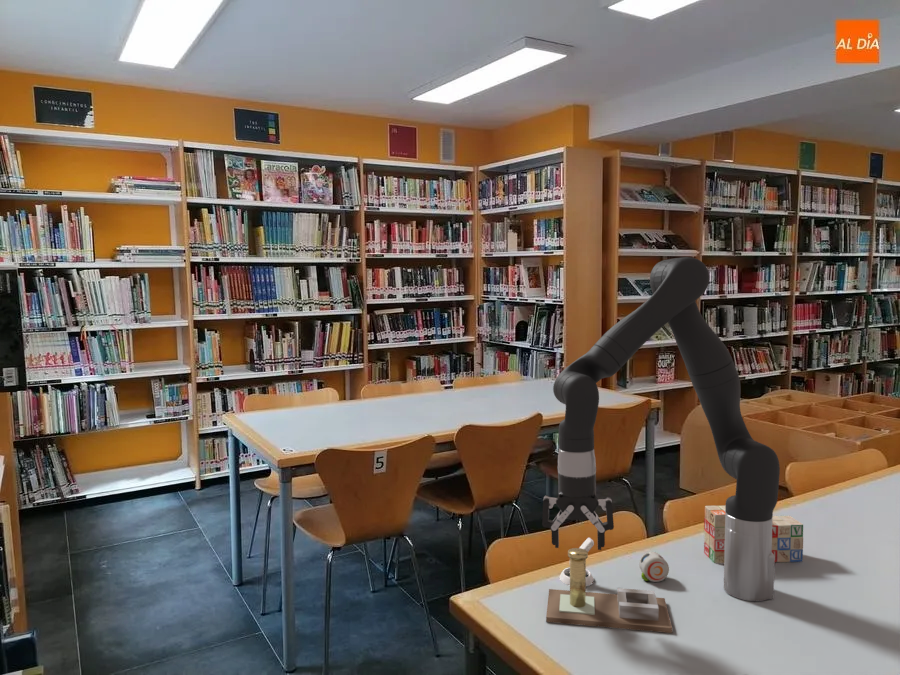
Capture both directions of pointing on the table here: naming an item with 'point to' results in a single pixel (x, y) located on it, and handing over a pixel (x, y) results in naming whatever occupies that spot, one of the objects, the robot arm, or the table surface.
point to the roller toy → (653, 567)
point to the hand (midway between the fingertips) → (578, 547)
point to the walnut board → (616, 611)
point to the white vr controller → (586, 546)
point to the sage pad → (569, 608)
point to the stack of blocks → (783, 536)
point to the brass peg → (577, 576)
